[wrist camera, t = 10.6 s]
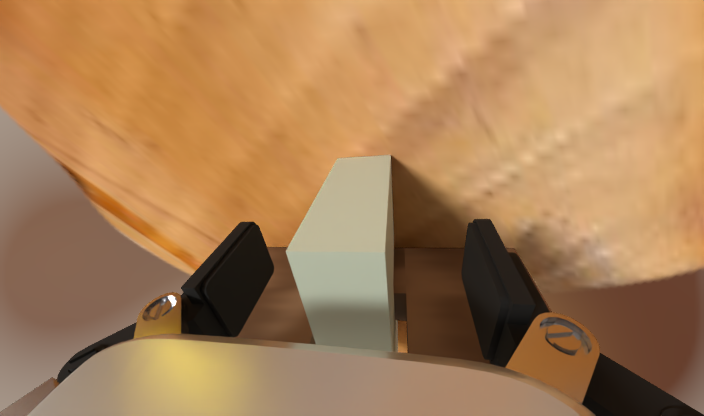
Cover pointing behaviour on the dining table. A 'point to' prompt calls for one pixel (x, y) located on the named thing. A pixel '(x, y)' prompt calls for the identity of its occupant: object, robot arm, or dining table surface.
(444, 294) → the walnut upright plate
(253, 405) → the robot arm
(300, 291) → the sage cross-piece
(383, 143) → the dining table surface
